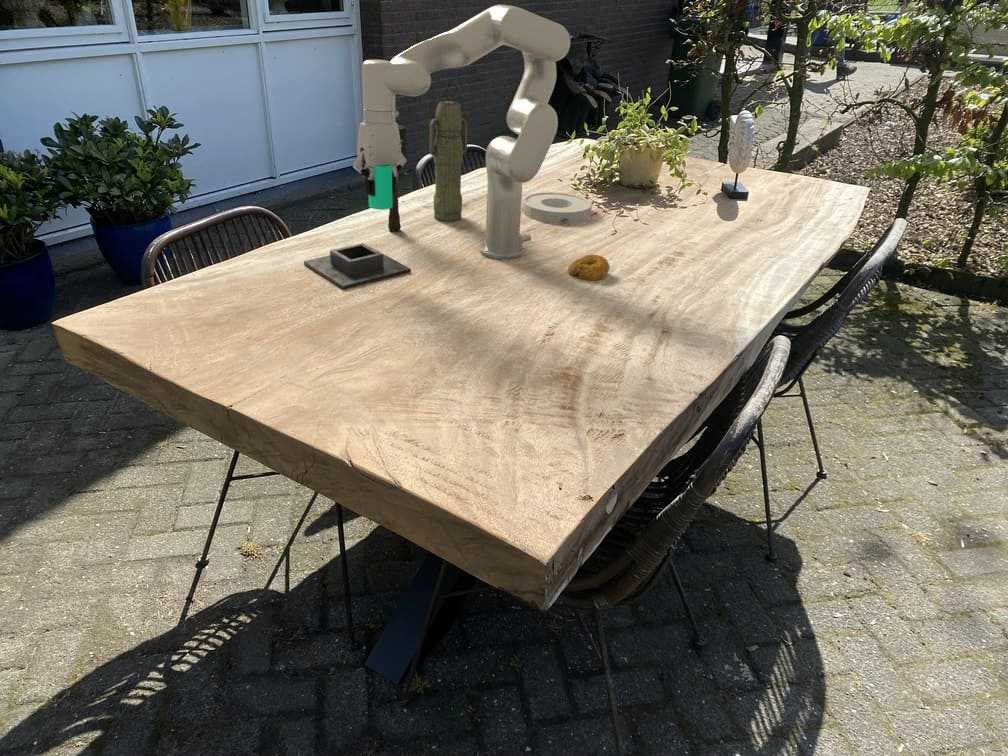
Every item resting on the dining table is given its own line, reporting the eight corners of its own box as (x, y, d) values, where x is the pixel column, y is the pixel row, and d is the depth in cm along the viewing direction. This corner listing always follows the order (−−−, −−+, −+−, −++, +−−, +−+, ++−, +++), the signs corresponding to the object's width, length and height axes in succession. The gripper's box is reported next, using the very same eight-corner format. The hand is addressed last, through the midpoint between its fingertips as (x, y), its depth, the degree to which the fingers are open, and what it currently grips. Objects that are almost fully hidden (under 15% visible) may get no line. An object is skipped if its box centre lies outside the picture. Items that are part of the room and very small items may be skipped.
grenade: (374, 232, 210) (370, 127, 195) (389, 224, 217) (386, 122, 202) (399, 237, 207) (397, 131, 192) (413, 228, 214) (412, 126, 199)
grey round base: (545, 199, 250) (546, 188, 248) (603, 213, 238) (604, 201, 236) (507, 213, 233) (508, 201, 231) (567, 229, 222) (568, 217, 220)
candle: (388, 210, 174) (387, 161, 168) (365, 207, 175) (363, 158, 169) (395, 204, 180) (395, 156, 174) (373, 201, 180) (372, 153, 174)
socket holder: (369, 249, 197) (368, 234, 195) (410, 272, 184) (410, 256, 182) (304, 264, 185) (302, 248, 183) (343, 289, 173) (342, 272, 170)
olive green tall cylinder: (471, 219, 225) (474, 103, 207) (438, 224, 219) (439, 105, 201) (456, 211, 231) (458, 98, 213) (425, 216, 225) (424, 100, 207)
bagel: (566, 266, 194) (568, 250, 191) (606, 269, 194) (608, 252, 191) (568, 280, 185) (570, 263, 183) (610, 283, 185) (612, 266, 183)
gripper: (400, 112, 174) (400, 185, 183) (339, 116, 164) (342, 194, 173) (418, 117, 170) (417, 192, 179) (356, 122, 159) (359, 201, 168)
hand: (380, 192), depth 176 cm, fingers closed on candle, 5 cm apart
